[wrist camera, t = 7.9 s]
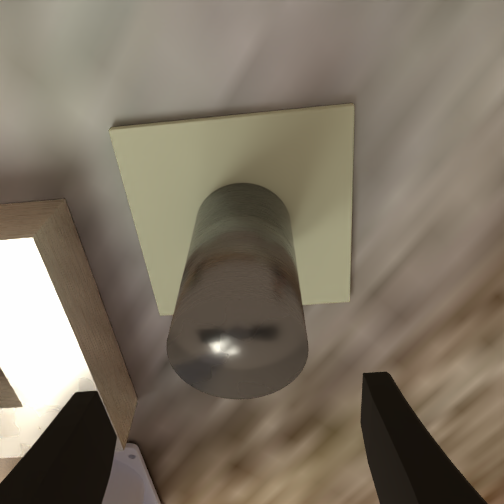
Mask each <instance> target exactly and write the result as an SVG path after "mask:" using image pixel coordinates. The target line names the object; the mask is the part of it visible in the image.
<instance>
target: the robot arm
mask: <svg viewBox="0 0 504 504" xmlns="http://www.w3.org/2000/svg"><path fill="white" fill-rule="evenodd" d="M361 428H362V433H363V439H364V444H365V449H366V454H367V459H368V464H369V467H370V471H371V474H372V477H373V481H374V484H375V488H376V491H377V495H378V498H379V501H380V504H487V502H486V501H485V500H484V499H483V498H482V497H481V496H480V495H479V494H478V492H477V491H476V490H475V489H474V488H473V487H472V486H471V484H470V483H469V482H468V481H467V480H466V479H465V477H464V476H463V475H462V474H461V473H460V471H459V470H458V469H457V468H456V467H455V465H454V464H453V463H452V462H451V460H450V459H449V458H448V457H447V455H446V454H445V453H444V452H443V450H442V449H441V448H440V446H439V445H438V444H437V442H436V441H435V440H434V439H433V437H432V436H431V435H430V433H429V432H428V431H427V429H426V428H425V427H424V425H423V424H422V422H421V421H420V420H419V418H418V417H417V415H416V414H415V412H414V411H413V410H412V408H411V407H410V405H409V404H408V402H407V401H406V399H405V398H404V396H403V395H402V393H401V391H400V390H399V388H398V387H397V385H396V383H395V382H394V380H393V378H392V377H391V375H390V374H389V373H388V372H374V373H363V384H362V404H361ZM116 441H117V435H116V433H115V431H114V428H113V426H112V424H111V421H110V419H109V417H108V414H107V412H106V410H105V407H104V405H103V403H102V400H101V398H100V396H99V393H98V391H83V392H75V393H74V395H73V396H72V397H71V398H70V399H69V401H68V402H67V403H66V404H65V406H64V407H63V408H62V409H61V411H60V412H59V413H58V414H57V416H56V417H55V418H54V419H53V421H52V422H51V423H50V424H49V426H48V427H47V428H46V429H45V431H44V432H43V433H42V434H41V436H40V437H39V438H38V439H37V441H36V442H35V443H34V444H33V446H32V447H31V448H30V449H29V450H28V452H27V453H26V454H25V455H24V456H23V458H22V459H21V460H20V461H19V462H18V464H17V465H16V466H15V467H14V468H13V470H12V471H11V472H10V473H9V474H8V475H7V476H6V478H5V479H4V480H3V481H2V482H1V483H0V504H161V503H160V500H159V498H158V495H157V493H156V490H155V488H154V485H153V483H152V480H151V477H150V475H149V472H148V470H147V467H146V465H145V462H144V460H143V457H142V455H141V452H140V450H139V447H138V446H137V445H136V444H133V443H126V446H125V449H124V451H116V452H115V447H116Z"/></svg>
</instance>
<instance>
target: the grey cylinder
mask: <svg viewBox="0 0 504 504" xmlns="http://www.w3.org/2000/svg"><path fill="white" fill-rule="evenodd" d="M167 355H168V358H169V361H170V363H171V365H172V367H173V369H174V370H175V372H176V373H177V374H178V375H179V376H180V377H181V378H182V379H183V380H184V381H185V382H186V383H188V384H189V385H191V386H192V387H194V388H196V389H198V390H199V391H202V392H204V393H207V394H210V395H213V396H216V397H221V398H228V399H251V398H257V397H261V396H265V395H268V394H271V393H274V392H276V391H278V390H280V389H282V388H284V387H285V386H287V385H288V384H290V383H291V382H292V381H293V380H294V379H295V378H296V377H297V376H298V375H299V374H300V372H301V371H302V370H303V368H304V366H305V364H306V361H307V357H308V340H307V333H306V326H305V319H304V312H303V305H302V298H301V291H300V284H299V277H298V270H297V263H296V256H295V249H294V241H293V234H292V227H291V220H290V216H289V212H288V210H287V208H286V206H285V204H284V203H283V201H282V200H281V199H280V198H279V197H278V196H277V195H276V194H275V193H273V192H272V191H270V190H269V189H267V188H265V187H262V186H260V185H256V184H252V183H233V184H229V185H226V186H223V187H221V188H219V189H217V190H215V191H214V192H212V193H211V194H210V195H209V196H208V197H207V198H206V199H205V200H204V201H203V203H202V204H201V206H200V208H199V210H198V213H197V217H196V221H195V225H194V230H193V234H192V238H191V242H190V247H189V251H188V255H187V259H186V263H185V268H184V272H183V276H182V280H181V284H180V289H179V293H178V297H177V301H176V305H175V310H174V314H173V318H172V322H171V326H170V331H169V335H168V339H167Z"/></svg>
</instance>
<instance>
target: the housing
mask: <svg viewBox="0 0 504 504" xmlns="http://www.w3.org/2000/svg"><path fill="white" fill-rule="evenodd" d="M83 391H98V393H99V396H100V398H101V400H102V403H103V405H104V407H105V410H106V412H107V414H108V417H109V419H110V421H111V424H112V426H113V428H114V431H115V433H116V435H117V441H116V447H115V452H116V451H124V449H125V446H126V442H127V438H128V435H129V431H130V427H131V424H132V420H133V416H134V413H135V409H136V405H137V401H138V399H137V396H136V393H135V390H134V388H133V385H132V382H131V379H130V377H129V374H128V371H127V368H126V365H125V363H124V360H123V357H122V354H121V352H120V349H119V346H118V343H117V341H116V338H115V335H114V332H113V330H112V327H111V324H110V321H109V319H108V316H107V313H106V310H105V308H104V305H103V302H102V299H101V297H100V294H99V291H98V288H97V286H96V283H95V280H94V277H93V275H92V272H91V269H90V266H89V264H88V261H87V258H86V255H85V252H84V250H83V247H82V244H81V241H80V239H79V236H78V233H77V230H76V228H75V225H74V222H73V219H72V217H71V214H70V211H69V208H68V206H67V203H66V200H65V199H55V200H44V201H33V202H22V203H11V204H0V458H10V457H23V456H24V455H25V454H26V453H27V452H28V450H29V449H30V448H31V447H32V446H33V444H34V443H35V442H36V441H37V439H38V438H39V437H40V436H41V434H42V433H43V432H44V431H45V429H46V428H47V427H48V426H49V424H50V423H51V422H52V421H53V419H54V418H55V417H56V416H57V414H58V413H59V412H60V411H61V409H62V408H63V407H64V406H65V404H66V403H67V402H68V401H69V399H70V398H71V397H72V396H73V395H74V393H75V392H83Z"/></svg>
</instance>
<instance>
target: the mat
mask: <svg viewBox="0 0 504 504" xmlns="http://www.w3.org/2000/svg"><path fill="white" fill-rule="evenodd" d="M109 134H110V138H111V141H112V145H113V148H114V152H115V156H116V159H117V163H118V166H119V170H120V173H121V177H122V181H123V184H124V188H125V191H126V195H127V199H128V202H129V206H130V209H131V213H132V217H133V220H134V224H135V227H136V231H137V235H138V238H139V242H140V245H141V249H142V252H143V256H144V260H145V263H146V267H147V270H148V274H149V278H150V281H151V285H152V288H153V292H154V296H155V299H156V303H157V306H158V310H159V314H160V316H164V315H173V314H174V310H175V305H176V301H177V297H178V293H179V289H180V284H181V280H182V276H183V272H184V268H185V263H186V259H187V255H188V251H189V247H190V242H191V238H192V234H193V230H194V225H195V221H196V217H197V213H198V210H199V208H200V206H201V204H202V203H203V201H204V200H205V199H206V198H207V197H208V196H209V195H210V194H211V193H212V192H214V191H215V190H217V189H219V188H221V187H223V186H226V185H229V184H233V183H252V184H256V185H260V186H262V187H265V188H267V189H269V190H270V191H272V192H273V193H275V194H276V195H277V196H278V197H279V198H280V199H281V200H282V201H283V203H284V204H285V206H286V208H287V210H288V212H289V216H290V220H291V227H292V234H293V241H294V249H295V256H296V263H297V270H298V277H299V284H300V291H301V298H302V305H312V304H325V303H338V302H350V269H351V228H352V187H353V146H354V104H353V103H348V104H338V105H328V106H318V107H308V108H299V109H289V110H279V111H269V112H259V113H249V114H239V115H229V116H219V117H209V118H199V119H189V120H179V121H169V122H159V123H149V124H139V125H129V126H119V127H111V128H110V129H109Z"/></svg>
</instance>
